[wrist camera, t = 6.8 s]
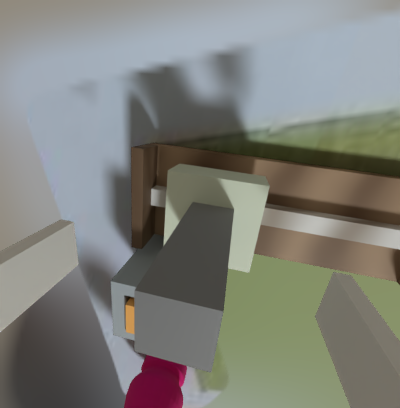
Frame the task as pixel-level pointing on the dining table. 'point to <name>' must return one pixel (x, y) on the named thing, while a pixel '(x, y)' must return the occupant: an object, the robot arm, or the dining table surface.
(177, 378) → the pepper mill
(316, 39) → the dining table surface
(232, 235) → the carriage
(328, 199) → the rail board
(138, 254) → the orange button box
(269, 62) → the dining table surface
